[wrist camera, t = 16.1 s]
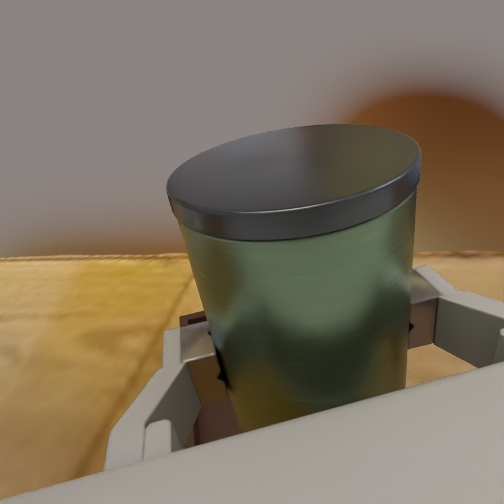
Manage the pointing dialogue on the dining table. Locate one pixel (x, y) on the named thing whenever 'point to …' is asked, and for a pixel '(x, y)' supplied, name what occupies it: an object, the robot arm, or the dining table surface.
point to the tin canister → (303, 263)
